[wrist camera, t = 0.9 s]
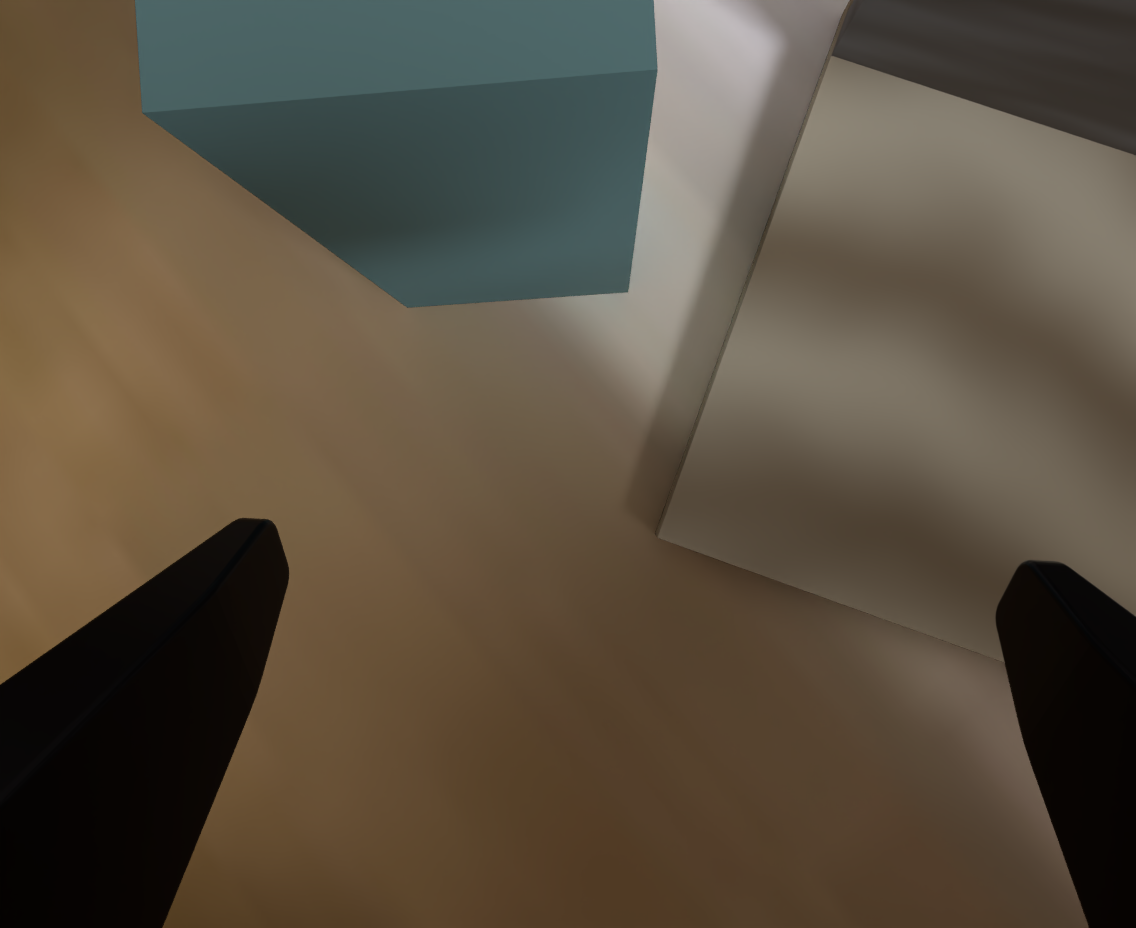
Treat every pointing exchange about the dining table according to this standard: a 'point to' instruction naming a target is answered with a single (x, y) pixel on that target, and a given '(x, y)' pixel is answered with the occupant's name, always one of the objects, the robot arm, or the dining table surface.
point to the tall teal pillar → (423, 131)
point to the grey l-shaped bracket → (937, 323)
